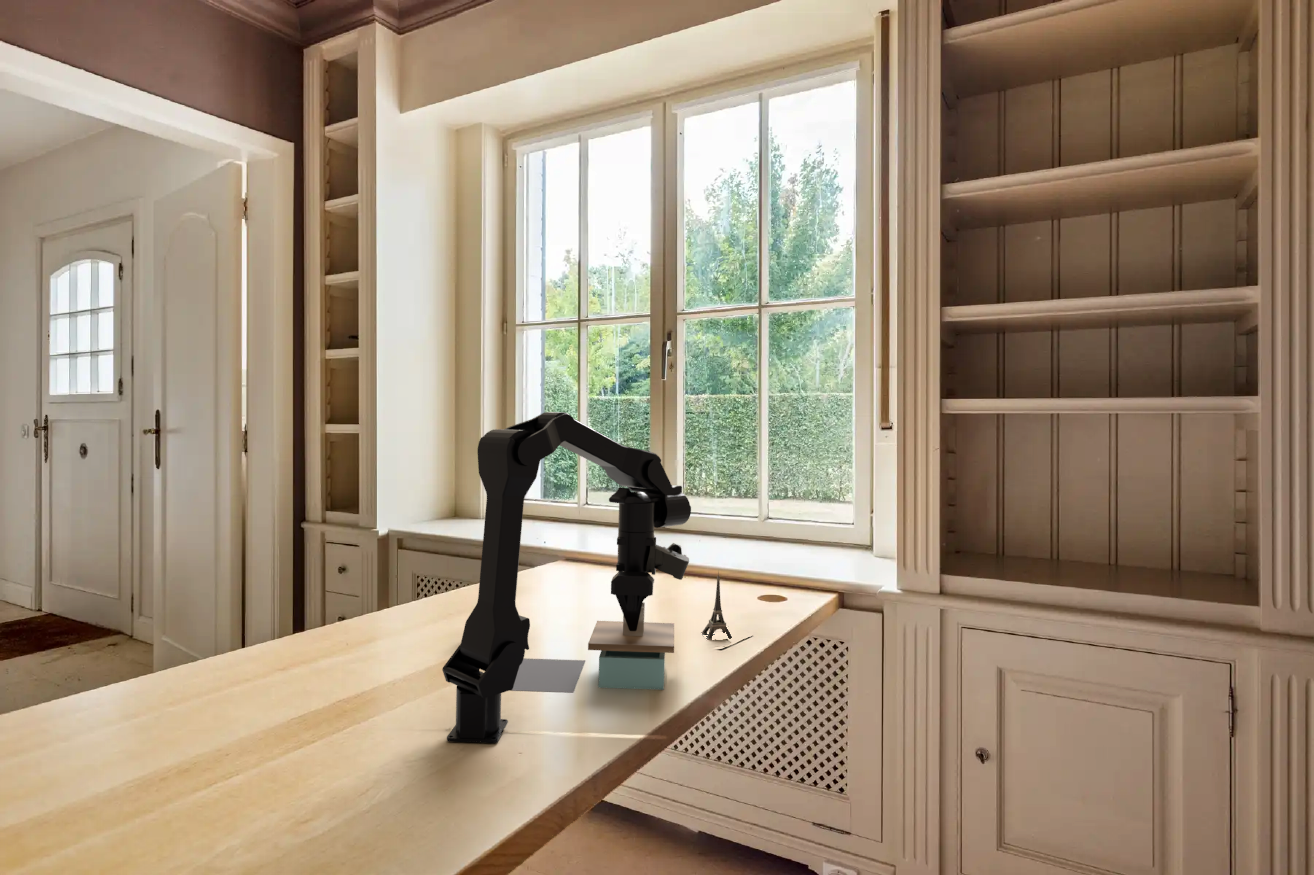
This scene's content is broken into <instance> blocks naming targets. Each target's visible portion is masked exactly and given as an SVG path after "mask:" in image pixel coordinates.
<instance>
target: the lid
mask: <svg viewBox="0 0 1314 875" xmlns="http://www.w3.org/2000/svg"><path fill="white" fill-rule="evenodd" d="M645 606H646V605H645V602H643V603H642V608H641V612H640V617H639V621H638V626H637V630H636V631H630V630H629V628H628V625H627V623H626V620H625V617H624V615H623V614H622V615H623V616H622V617H623V618H622V619H623V620H622V621H614V620H596V623H595V626H594V628H593V630H592V633H591V635H590V637H589V641H588V643H587V650H588V651H601V650H602V651H631V652H660V653H665V654H667V653H668V654H674V653H675V623H672V622H651V621H650V622H647V621H646V622H645V611H646V610H645Z"/></svg>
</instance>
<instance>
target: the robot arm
mask: <svg viewBox="0 0 1314 875" xmlns="http://www.w3.org/2000/svg"><path fill="white" fill-rule="evenodd" d="M559 446H560V447H562V448H564V449H566V450H568V451H570V452H571V453H574V454H576V455H577V456H580V457H581V458H583V459H585V460H588V461H589V462H591V463H594V464H595V465H597V466H600V467H601V468H602V470H604V472H605V473H606V475H607V477H608V478H610V479H611V480H613V481H614V483H616V484H617V485H619V486H621V487H618V488H617V490H616V491H615V492H614V493H613V494H611V496H610V497H609V498H608V501H609V502H610V503H613V504H618V527H617V529H618V530H617V533H618V534H617V538H616V545H617V562H616V567H615V568H616V569H615V570H616V573H615V575H613V576H612V579H611V581H610V595H614V596H615V598H616V599H617V602H618V605H619V607H620V610H621V612H622V615H624V617H625V620H626V623H627V625H628V628H629V630H630V631H636V630H637V626H638V621H639V617H640V612H641V608H642V603H644V600H646V598H648V597H651V596H653V595H654V594H653V593H654V583H655V578H654V577H653V576H655V575H656V572H657V571H661V573H662V572H663V573H664V574H668V575H670V576H673V577H672V578H674V579H676V580H680V581H681V580H683V578H684V575H685V572H686V570H687V568H688V566H689V562H690V558H689V557H688V556H687V554H683V552H682V546H681V545H679V544H678V543H674V542H672V543H671V544H670V545H669V546H668V547H666V546H661V545H658V544H657V537H655V529H657V528H659V529H660V528H665V527H666V528H667V527H674V526H682V525H684V524H686V523H687V522H688V521H689V519H690V516H691V512H692V506H691V505H690V501H689V499H688V497H687V496H686V494H684V492H683V486H682V485H679V484H672V483H671V481H670V479H669V477H668V475H667V473H666V471H665V469H664V466H663V464H662V458H661V457H660V456H659V455H658V454H657V453H655V452H652V451H648V450H644V449H641V448H635V447H631V446H625V445H623V444H621V443H619V442H617V441H615V440H613V439H611V438H609V437H608V436H606V435H604V434H602V433H600V432H598V430H595V429H593V428H591V427H589V425H586V424H584V423H582V422H580V421H579V420H577V419H575V418H574V417H573V416H572V415H570V414H569V413H568V412H564V411H545V412H542V413H541V414H539V415H537V416H534V417H533V418H531V419H528V420H525V421H522V422H519V423H516V424H513V425H511V426H508V427H506V428H504V429H501V428H498V429H497V428H495V429H492V430H489V431H487V432H486V433H485V434H484V435H483V436H482V437H480V439H479V441H478V444H477V463H478V464H477V467H478V475H479V477H480V480H481V482H482V485H483V489H484V491H485V493H486V502H485V503H486V504H485V513H484V514H485V515H484V516H485V517H484V526H483V527H484V528H483V538H482V550H481V561H480V574H479V585H478V596H477V602H476V604H475V607H474V608H473V610H472V611H471V612H470V614H469V616H468V617H467V619H466V620H465V624H464V629H463V633H462V637H461V641H460V644H459V645H458V647H457V648H456V650H455V651H454V652H453V654H452V655H451V656H450V657H449V659H447V662H446V663H445V664H444V665H443V667H442V672H443V676H444V679H445V682H447V683H449V684H450V683H451V684H453V685H455V686H456V689H455V690H456V692H455V693H456V696H455V698H456V699H455V701H456V702H455V724H454V726H453V727H452V729H451V731H450V732H449V733H448V734H447V736H446V742H455V743H458V742H459V743H479V744H480V743H484V744H485V743H486V744H487V743H488V744H496V743H498V742H499V740H500V738H501V736H502V735H503V733H504V731H505V728H506V727H507V725H508V723H509V720H508V719H507V718H504V719H503V718H501V717H502V716H501V713H502V711H501V710H502V694H503V693H505V692H510V690H512V689H513V686H514V683H515V680H516V676H517V673H518V670H519V666H520V665H521V664H522V662H523V659H524V658H525V653H526V650H527V651H528V650H530V646H529V632H530V627H531V622H530V618H528V617H526V616H522V615H520V614H519V611H518V609H517V604H516V603H517V602H516V597H517V589H518V588H517V587H518V574H519V563H520V552H521V541H522V540H521V538H522V527H523V517H524V503H525V497H526V496H527V494H528V492H529V490H530V489H531V488H532V485H533V484H534V482H535V481H536V479H537V476H538V472H539V466H540V463H541V460H543V459H545V458H546V457H549V456H551V455H552V454H553V453H555V452H556V450H557V449H558V448H559ZM650 573H651V574H650ZM480 670H481V671H480Z"/></svg>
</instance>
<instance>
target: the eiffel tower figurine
mask: <svg viewBox="0 0 1314 875" xmlns="http://www.w3.org/2000/svg"><path fill="white" fill-rule="evenodd" d="M717 572H718V573H717V574H718V575H717V576H716V590H715V600H714V601H715V602H714V606H713V607H714V608H713V609H712V610H713V612H712V614H711V617H710V619H708V623H707V625H706V626H705V628H704V629H703V630H702V631H701V632H700V634H701V633H702V634H701V635H702V636H703V635H708V636H706V637H707V638H706V639H707V640H712V636H713V635H715V634H713V633H714V632H717V630H721V632H723V633H725V632H726V634H727V636H728V638H729V639H731V638H732V636H731V634H730V632H729V630H728V629H727V627H726V626H727V622H726V621H725V620H724V615H723V610H722V603H721V588H720V587H721V584H720V582H721V581H720V580H721V577H720V571H719V570H718V571H717ZM707 632H709V634H707ZM706 639H705V640H706ZM707 640H706V641H707Z"/></svg>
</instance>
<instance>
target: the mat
mask: <svg viewBox="0 0 1314 875" xmlns="http://www.w3.org/2000/svg"><path fill="white" fill-rule="evenodd" d="M585 664H586V660H583V659H558V658H557V659H552V658H549V659H548V658H526V657H524V659H523V662H522V664H521V665H520V666H519V670H518V673H517V676H516V680H515V683H514V686H513V689H512V690H510V691H512V692H513V691H515V692H537V693H538V692H539V693H540V692H542V693H567V694H570V693H575V689H576V686H577V684H578V682H579V679H580V678H581V677H580V676H581V673H582V671H583V668H584V665H585ZM510 691H509V692H510Z"/></svg>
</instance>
